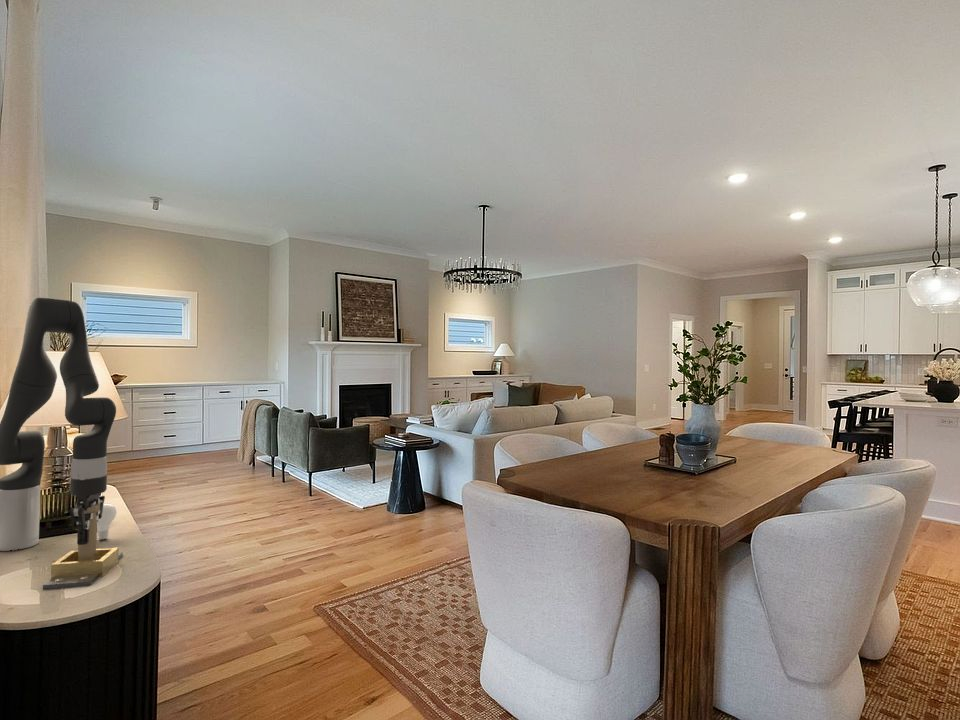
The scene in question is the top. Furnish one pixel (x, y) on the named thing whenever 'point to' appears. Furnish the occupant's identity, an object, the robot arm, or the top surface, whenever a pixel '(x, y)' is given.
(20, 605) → the top surface
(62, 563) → the wooden frame on plate
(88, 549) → the handle
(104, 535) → the lightbulb
